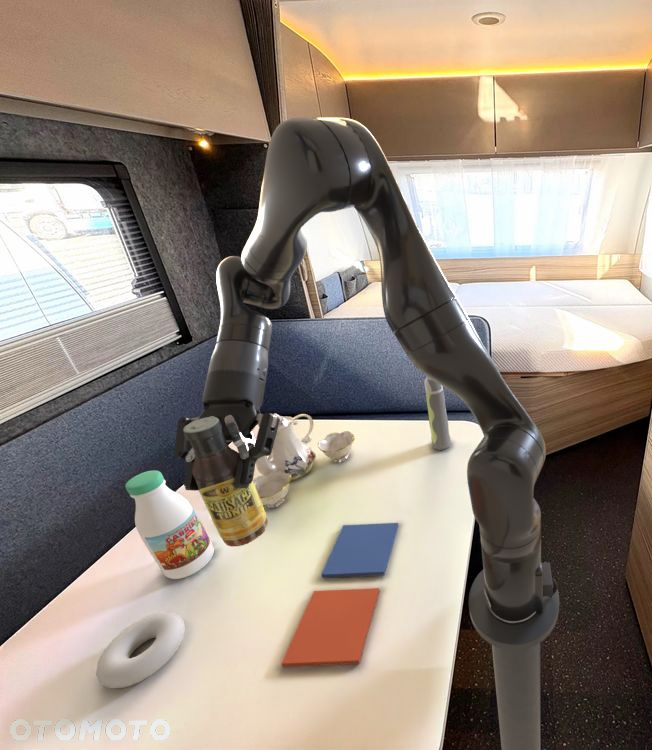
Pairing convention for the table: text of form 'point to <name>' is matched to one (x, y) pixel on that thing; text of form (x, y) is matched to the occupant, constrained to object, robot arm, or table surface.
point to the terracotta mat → (333, 628)
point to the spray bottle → (437, 414)
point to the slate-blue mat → (361, 550)
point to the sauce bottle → (224, 484)
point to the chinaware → (294, 459)
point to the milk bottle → (169, 526)
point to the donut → (127, 671)
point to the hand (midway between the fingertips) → (217, 488)
